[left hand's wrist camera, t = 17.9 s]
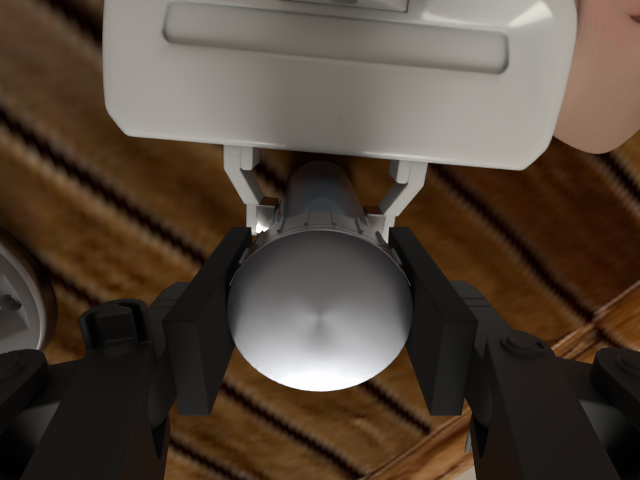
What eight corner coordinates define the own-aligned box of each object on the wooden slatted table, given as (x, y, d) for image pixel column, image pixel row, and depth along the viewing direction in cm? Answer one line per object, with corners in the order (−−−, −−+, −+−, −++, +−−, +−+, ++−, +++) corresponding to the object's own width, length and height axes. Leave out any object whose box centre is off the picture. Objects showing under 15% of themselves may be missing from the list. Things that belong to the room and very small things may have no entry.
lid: (417, 337, 12) (432, 370, 11) (268, 372, 13) (261, 409, 11) (383, 187, 11) (395, 201, 9) (210, 236, 11) (191, 258, 9)
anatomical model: (695, 173, 20) (509, 131, 20) (636, 163, 24) (479, 128, 23) (860, -114, 16) (629, -183, 15) (757, -71, 20) (567, -125, 19)
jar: (304, 235, 26) (285, 388, 12) (275, 177, 25) (212, 272, 10) (363, 209, 26) (419, 337, 11) (337, 148, 24) (362, 206, 10)
